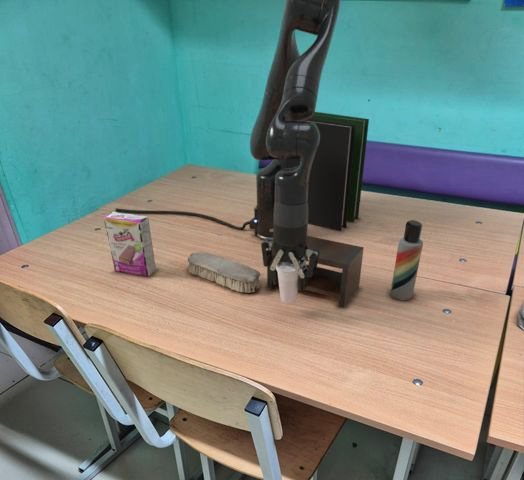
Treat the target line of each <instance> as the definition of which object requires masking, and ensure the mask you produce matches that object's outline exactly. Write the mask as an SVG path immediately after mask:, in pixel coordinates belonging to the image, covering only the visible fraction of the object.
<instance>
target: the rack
mask: <svg viewBox="0 0 524 480" xmlns="http://www.w3.org/2000/svg"><path fill="white" fill-rule="evenodd" d="M306 244H307V247H308V249H309V250H312V251H315V250H318V251H319V252H320V254H319V259H318V264H317V265H321V266H322V265H323V266H326V267H331V268H336V269H340V270H341V271H337V270H333V269H329V268H324V267H319V266H317V269H316V272H315V274H314V275H313V276H312V277H310V278H309V277H308V281H307V287H306V288H305V289H304V291H309V292H313V293H318V294H321V295H325V296H328V297H331V298H332V297H333V298H337V299H339V300H338V303H339V304H338V307H339V308H343V309H344V308H346V307H347V305H348V303H349V302H350V301H351V299H352V298H353V297H354V296H355V294H356V293H357V292H358V291H359V289H360V284H361V283H360V281H361V273H362V265H363V257H364V250H365V249H364V246H360V245H354V244H350V243H344V242H340V241H335V240H331V239H330V240H329V239H325V238H321V237H316V236H310V235H307V242H306ZM271 250H272V259H273V260H274V259H275V257H276V255H277V254H276V252H275V250H274V249H273V248H272V249H271ZM304 258H305V260H306V262H308V263H309V260H308V256H307V255H306V254H305V256H304ZM306 266H307V268H308V266H309V264H307V263H306ZM266 287H267V289H270V290H272V289H274V288H275V287H276V285H275V284H273V282H272V280H271V269H270V268H269V267H268V266H267V267H266ZM298 289H299V287H298Z"/></svg>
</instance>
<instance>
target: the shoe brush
mask: <svg viewBox="0 0 524 480" xmlns="http://www.w3.org/2000/svg"><path fill="white" fill-rule="evenodd" d="M187 262H188V268H187V269H188V273H189V274H191V275H193V276H194V275H195V276H198V277H200V278H201V279H207V280H208V281H210V282H215V283H216V284H217V285H219V286H222V287H226V288H228V289H230V290H232V291H235V292H237V293H245V294H250V293H251V294H252V293H255V292H256V290H258V289H259V288H260V276H261V272H260V271H258V270H257V269H255V268H252V267H250V266H249V265H246V264H243V263H240V262H238V261H235V260H232V259H229V258H227V257H223V256H220V255H217V254H212V253H209V252H204V251H203V252H202V251H201V252H200V251H199V252H192V253H190V254H189V256H188V257H187ZM255 289H256V290H255Z"/></svg>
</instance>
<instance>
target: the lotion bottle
mask: <svg viewBox="0 0 524 480" xmlns="http://www.w3.org/2000/svg"><path fill="white" fill-rule="evenodd" d="M422 229H423V224H422V223H421V222H420V221H417V220H415V219H411V220H408V221H406V223H405V227H404V233H403V237H401V238H399V241H398V243H397V244H398V245H397V251H396V256H395V263H394V267H393V268H394V269H393V273H392V274H393V275H392V281H391V288H390V295H391V297H393V298H394V299H395V300H400V301H406V300H410V299H411V298H413V295H414V291H415V286H416V281H417V275H418V270H419V265H420V261H421V256H422V250H423V245H424V241H423V240H422V239H421V234H422Z"/></svg>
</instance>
